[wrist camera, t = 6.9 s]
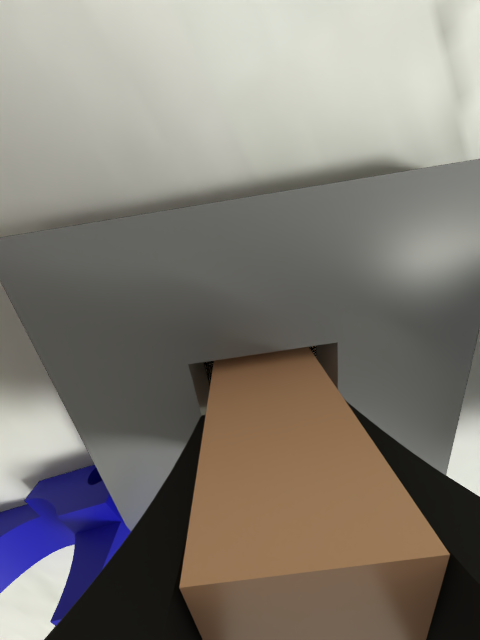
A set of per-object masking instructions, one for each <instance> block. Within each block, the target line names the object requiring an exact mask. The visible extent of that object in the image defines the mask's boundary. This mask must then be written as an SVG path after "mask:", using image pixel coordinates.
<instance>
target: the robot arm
mask: <svg viewBox="0 0 480 640" xmlns="http://www.w3.org/2000/svg"><path fill="white" fill-rule="evenodd" d="M345 401H346V400H345ZM346 403H347V404H348V406H349V407H350V408H351V410H352V411H353V413H354V414H355V416H356V417H357V419H358V420H359V422H360V423H361V425H362V426H363V428H364V429H365V430H366V432H367V433H368V435H369V436H370V438H371V439H372V441H373V442H374V444H375V445H376V447H377V448H378V450H379V451H380V452H381V454H382V455H383V457H384V458H385V460H386V461H387V463H388V464H389V466H390V467H391V469H392V470H393V472H394V473H395V474H396V476H397V477H398V479H399V480H400V482H401V483H402V485H403V486H404V488H405V489H406V491H407V492H408V494H409V495H410V496H411V498H412V499H413V501H414V502H415V504H416V505H417V507H418V508H419V510H420V511H421V513H422V514H423V516H424V517H425V518H426V520H427V521H428V523H429V524H430V526H431V527H432V529H433V530H434V532H435V533H436V535H437V536H438V538H439V539H440V540H441V542H442V543H443V545H444V546H445V548H446V549H447V551H448V552H449V554H450V557H449V560H448V564H447V567H446V571H445V574H444V578H443V582H442V585H441V589H440V592H439V596H438V599H437V603H436V606H435V610H434V613H433V617H432V621H431V624H430V628H429V631H428V635H427V638H426V640H480V497H479V496H478V495H476V494H474V493H473V492H471V491H470V490H468V489H466V488H465V487H463V486H462V485H460V484H458V483H457V482H455V481H454V480H452V479H450V478H449V477H447V476H446V475H444V474H443V473H441V472H440V471H438V470H437V469H435V468H434V467H432V466H431V465H430V464H428V463H427V462H425V461H424V460H422V459H421V458H420V457H418V456H417V455H415V454H414V453H412V452H411V451H410V450H408V449H407V448H406V447H404V446H403V445H401V444H400V443H399V442H397V441H396V440H395V439H394V438H392V437H391V436H390V435H388V434H387V433H386V432H384V431H383V430H382V429H380V428H379V427H378V426H377V425H375V424H374V423H373V422H372V421H370V420H369V419H368V418H367V417H365V416H364V415H363V414H362V413H360V412H359V411H358V410H357V409H355V408H354V407H353V406H352V405H351V404H349V403H348V402H347V401H346ZM205 416H206V415H202V416H201V417H200V418H199V420H198V422H197V424H196V426H195V429H194V430H193V432H192V434H191V436H190V438H189V440H188V442H187V444H186V446H185V448H184V449H183V451H182V453H181V455H180V456H179V458H178V460H177V462H176V463H175V465H174V467H173V469H172V470H171V472H170V474H169V475H168V477H167V479H166V480H165V482H164V483H163V485H162V486H161V488H160V490H159V491H158V493H157V494H156V496H155V498H154V499H153V501H152V502H151V504H150V505H149V507H148V508H147V510H146V511H145V513H144V514H143V515H142V517H141V518H140V520H139V521H138V523H137V524H136V525H135V527H134V528H133V530H132V531H131V532H130V534H129V535H128V537H127V538H126V539H125V541H124V542H123V543H122V545H121V546H120V547H119V549H118V550H117V551H116V552H115V554H114V555H113V556H112V558H111V559H110V560H109V562H108V563H107V564H106V566H105V567H104V568H103V569H102V571H101V572H100V573H99V575H98V576H97V577H96V578H95V580H94V581H93V582H92V583H91V585H90V586H89V587H88V588H87V590H86V591H85V592H84V593H83V594H82V596H81V597H80V598H79V599H78V600H77V602H76V603H75V604H74V605H73V606H72V608H71V609H70V610H69V611H68V612H67V613H66V615H65V616H64V617H63V618H62V619H61V620H60V622H59V623H58V624H57V625H56V626H55V628H54V629H53V630H52V631H51V632H50V633H49V635H48V636H47V637H46V638H45V639H44V640H203V639H202V637H201V635H200V633H199V630H198V628H197V626H196V624H195V622H194V619H193V617H192V615H191V613H190V611H189V608H188V606H187V604H186V602H185V599H184V597H183V595H182V593H181V591H180V588H179V587H180V580H181V573H182V567H183V560H184V554H185V547H186V541H187V534H188V528H189V521H190V515H191V508H192V502H193V495H194V488H195V482H196V475H197V469H198V462H199V456H200V449H201V443H202V436H203V430H204V423H205Z"/></svg>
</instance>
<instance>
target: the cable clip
mask: <svg viewBox="0 0 480 640" xmlns="http://www.w3.org/2000/svg"><path fill="white" fill-rule="evenodd" d="M24 501H25V502H26V503H27V505H23V506H20V507H17V508H13V509H10V510H6V511H3V512H0V593H1V592H2V591H3V590H4V589H5V588H6V587H7V586H9V585H10V584H11V583H12V582H13V581H14V580H15V579H16V578H18V577H19V576H20V575H21V574H22V573H24V572H25V571H26V570H27V569H29V568H30V567H31V566H33V565H34V564H35V563H37V562H38V561H40V560H41V559H43V558H44V557H46V556H48V555H49V554H51V553H53V552H55V551H57V550H59V549H61V548H64V547H66V546H70V545H74V544H75V549H74V556H73V561H72V565H71V569H70V573H69V576H68V579H67V582H66V585H65V588H64V591H63V593H62V596H61V598H60V601H59V603H58V606H57V608H56V610H55V612H54V615H53V617H52V619H51V621H50V622H51V623H53V624H54V625H55V626H56V625H57V624H58V623H59V622H60V620H61V619H62V618H63V617H64V616H65V615H66V613H67V612H68V611H69V610H70V609H71V608H72V606H73V605H74V604H75V603H76V602H77V600H78V599H79V598H80V597H81V596H82V594H83V593H84V592H85V591H86V590H87V588H88V587H89V586H90V585H91V583H92V582H93V581H94V580H95V578H96V577H97V576H98V575H99V573H100V572H101V571H102V569H103V568H104V567H105V566H106V564H107V563H108V562H109V560H110V559H111V558H112V556H113V555H114V554H115V552H116V551H117V550H118V549H119V547H120V546H121V545H122V543H123V542H124V541H125V539H126V538H127V537H128V535H129V534H130V532H131V531H130V530H129V528H128V527H127V526H126V525H125V523H124V521H123V519H122V517H121V515H120V513H119V511H118V509H117V507H116V505H115V503H114V501H113V499H112V497H111V495H110V493H109V491H108V489H107V488H106V486H105V484H104V482H103V480H102V478H101V476H100V474H99V472H98V470H97V468H96V466H95V465H92V466H88V467H85V468H82V469H78V470H75V471H72V472H68V473H65V474H61V475H58V476H55V477H51V478H48V479H45V480H41V481H39V482H38V484H37V485H36V486H35V487H34V489H33V490H32V491H31V492H30V494H29V495H28V496H27V498H26V499H25V500H24Z"/></svg>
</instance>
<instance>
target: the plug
mask: <svg viewBox="0 0 480 640" xmlns="http://www.w3.org/2000/svg"><path fill="white" fill-rule="evenodd" d="M449 557H450V554H449V552H448V551H447V549H446V548H445V546H444V545H443V543H442V542H441V540H440V539H439V538H438V536H437V535H436V533H435V532H434V530H433V529H432V527H431V526H430V524H429V523H428V521H427V520H426V518H425V517H424V516H423V514H422V513H421V511H420V510H419V508H418V507H417V505H416V504H415V502H414V501H413V499H412V498H411V496H410V495H409V494H408V492H407V491H406V489H405V488H404V486H403V485H402V483H401V482H400V480H399V479H398V477H397V476H396V474H395V473H394V472H393V470H392V469H391V467H390V466H389V464H388V463H387V461H386V460H385V458H384V457H383V455H382V454H381V452H380V451H379V450H378V448H377V447H376V445H375V444H374V442H373V441H372V439H371V438H370V436H369V435H368V433H367V432H366V430H365V429H364V428H363V426H362V425H361V423H360V422H359V420H358V419H357V417H356V416H355V414H354V413H353V411H352V410H351V408H350V407H349V406H348V404H347V403H346V401H345V400H344V398H343V397H342V395H341V394H340V392H339V391H338V389H337V388H336V386H335V385H334V384H333V382H332V381H331V379H330V378H329V376H328V375H327V373H326V372H325V370H324V369H323V367H322V366H321V364H320V363H319V362H318V360H317V359H316V357H315V356H314V354H313V353H312V351H311V350H310V348H309V347H303V348H296V349H289V350H282V351H275V352H269V353H262V354H255V355H248V356H241V357H235V358H228V359H221V360H214V364H213V371H212V377H211V384H210V390H209V397H208V403H207V410H206V416H205V423H204V430H203V436H202V443H201V449H200V456H199V462H198V469H197V475H196V482H195V488H194V495H193V502H192V508H191V515H190V521H189V528H188V534H187V541H186V547H185V554H184V560H183V567H182V573H181V580H180V587H179V588H180V591H181V593H182V595H183V597H184V599H185V602H186V604H187V606H188V608H189V611H190V613H191V615H192V617H193V619H194V622H195V624H196V626H197V628H198V630H199V633H200V635H201V637H202V639H203V640H426V638H427V635H428V631H429V628H430V624H431V621H432V617H433V613H434V610H435V606H436V603H437V599H438V596H439V592H440V589H441V585H442V582H443V578H444V574H445V571H446V567H447V564H448V560H449Z"/></svg>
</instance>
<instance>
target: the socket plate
mask: <svg viewBox="0 0 480 640" xmlns="http://www.w3.org/2000/svg"><path fill="white" fill-rule="evenodd" d="M0 281H1V283H2V285H3V287H4V289H5V291H6V293H7V295H8V297H9V299H10V301H11V303H12V305H13V306H14V308H15V310H16V312H17V314H18V316H19V318H20V320H21V322H22V324H23V326H24V328H25V330H26V332H27V334H28V336H29V338H30V340H31V341H32V343H33V345H34V347H35V349H36V351H37V353H38V355H39V357H40V359H41V361H42V363H43V365H44V367H45V369H46V371H47V373H48V375H49V377H50V378H51V380H52V382H53V384H54V386H55V388H56V390H57V392H58V394H59V396H60V398H61V400H62V402H63V404H64V406H65V408H66V410H67V412H68V414H69V415H70V417H71V419H72V421H73V423H74V425H75V427H76V429H77V431H78V433H79V435H80V437H81V439H82V441H83V443H84V445H85V447H86V449H87V451H88V452H89V454H90V456H91V458H92V460H93V462H94V464H95V466H96V468H97V470H98V472H99V474H100V476H101V478H102V480H103V482H104V484H105V486H106V488H107V489H108V491H109V493H110V495H111V497H112V499H113V501H114V503H115V505H116V507H117V509H118V511H119V513H120V515H121V517H122V519H123V521H124V523H125V525H126V526H127V527H128V528H129V530H130V531H132V530H133V528H134V527H135V525H136V524H137V523H138V521H139V520H140V518H141V517H142V515H143V514H144V513H145V511H146V510H147V508H148V507H149V505H150V504H151V502H152V501H153V499H154V498H155V496H156V494H157V493H158V491H159V490H160V488H161V486H162V485H163V483H164V482H165V480H166V479H167V477H168V475H169V474H170V472H171V470H172V469H173V467H174V465H175V463H176V462H177V460H178V458H179V456H180V455H181V453H182V451H183V449H184V448H185V446H186V444H187V442H188V440H189V438H190V436H191V434H192V432H193V430H194V429H195V426H196V424H197V422H198V420H199V418H200V417H201V416H202V415H206V410H207V403H208V397H209V390H210V387H209V383H208V378H207V374H206V370H205V366H204V362H207V361H214V360H221V359H228V358H235V357H241V356H248V355H255V354H262V353H269V352H275V351H282V350H289V349H296V348H303V347H309V346H316V356H317V360H318V362H319V363H320V364H321V366H322V367H323V369H324V370H325V372H326V373H327V375H328V376H329V378H330V379H331V381H332V382H333V384H334V385H335V386H336V388H337V389H338V391H339V392H340V394H341V395H342V397H343V398H344V400H346V401H347V402H348V403H349V404H351V405H352V406H353V407H354V408H355V409H357V410H358V411H359V412H360V413H362V414H363V415H364V416H365V417H367V418H368V419H369V420H370V421H372V422H373V423H374V424H375V425H377V426H378V427H379V428H380V429H382V430H383V431H384V432H386V433H387V434H388V435H390V436H391V437H392V438H394V439H395V440H396V441H397V442H399V443H400V444H401V445H403V446H404V447H406V448H407V449H408V450H410V451H411V452H412V453H414V454H415V455H417V456H418V457H420V458H421V459H422V460H424V461H425V462H427V463H428V464H430V465H431V466H432V467H434V468H435V469H437V470H438V471H440V472H441V473H443V474H444V475H446V473H447V468H448V464H449V460H450V455H451V451H452V446H453V442H454V438H455V433H456V429H457V425H458V420H459V416H460V411H461V407H462V403H463V398H464V394H465V390H466V385H467V381H468V376H469V372H470V368H471V363H472V359H473V355H474V350H475V346H476V341H477V337H478V333H479V328H480V159H476V160H470V161H464V162H457V163H451V164H445V165H439V166H433V167H427V168H421V169H415V170H409V171H403V172H396V173H390V174H384V175H378V176H372V177H366V178H360V179H354V180H348V181H342V182H336V183H329V184H323V185H317V186H311V187H305V188H299V189H293V190H287V191H281V192H275V193H268V194H262V195H256V196H250V197H244V198H238V199H232V200H226V201H220V202H214V203H208V204H201V205H195V206H189V207H183V208H177V209H171V210H165V211H159V212H153V213H147V214H141V215H134V216H128V217H122V218H116V219H110V220H104V221H98V222H92V223H86V224H80V225H73V226H67V227H61V228H55V229H49V230H43V231H37V232H31V233H25V234H19V235H13V236H6V237H0Z"/></svg>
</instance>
